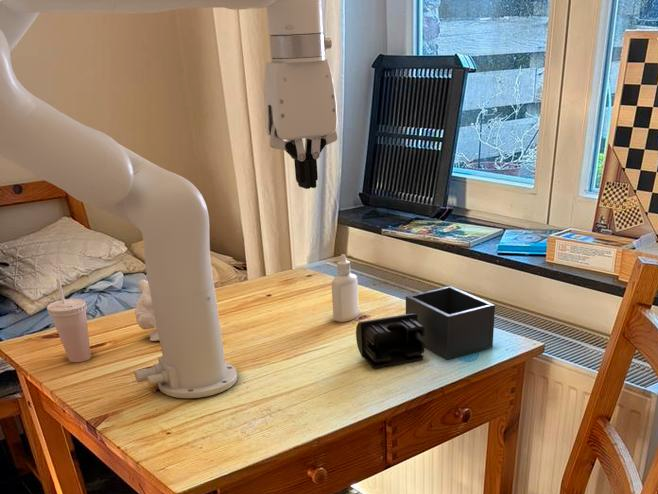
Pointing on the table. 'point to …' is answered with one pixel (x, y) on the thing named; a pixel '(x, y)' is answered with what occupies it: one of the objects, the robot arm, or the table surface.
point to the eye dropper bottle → (345, 292)
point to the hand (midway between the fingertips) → (307, 186)
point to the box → (453, 321)
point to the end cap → (390, 341)
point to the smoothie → (71, 326)
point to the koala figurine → (146, 311)
